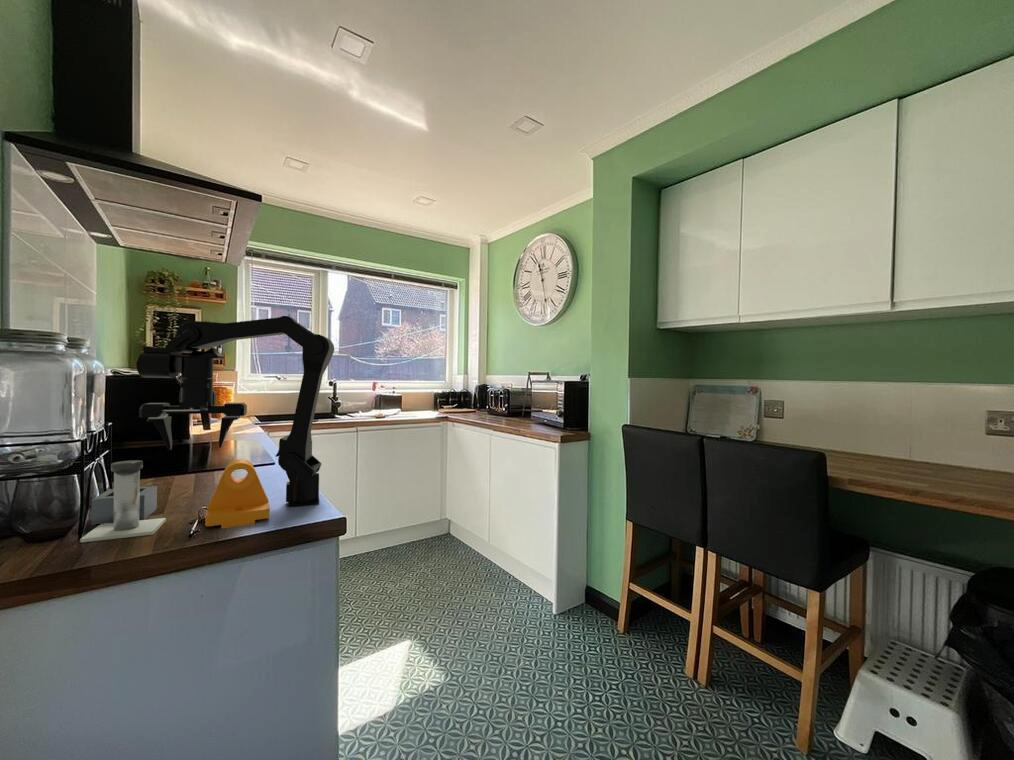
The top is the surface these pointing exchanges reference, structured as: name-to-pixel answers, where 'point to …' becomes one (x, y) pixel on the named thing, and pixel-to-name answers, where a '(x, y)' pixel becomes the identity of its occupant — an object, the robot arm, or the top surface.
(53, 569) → the top surface
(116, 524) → the key peg
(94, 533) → the mat
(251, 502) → the bracket
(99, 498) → the grey open box
